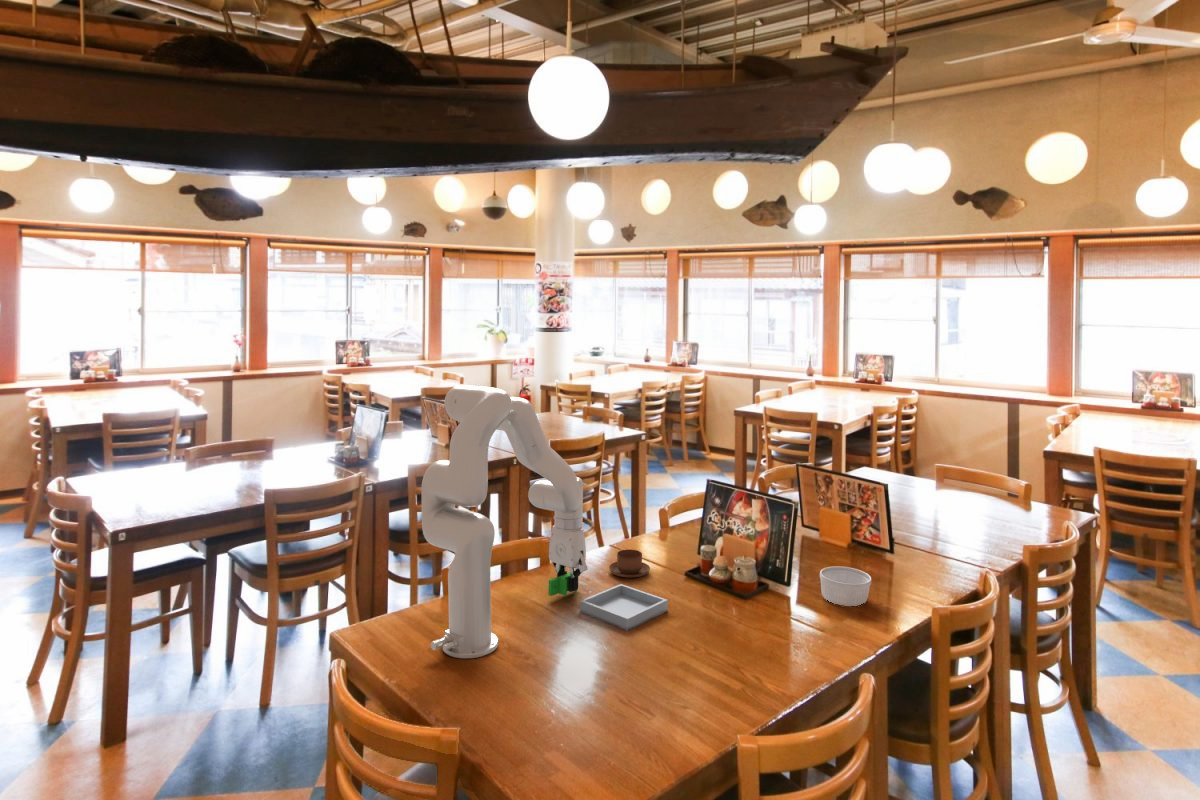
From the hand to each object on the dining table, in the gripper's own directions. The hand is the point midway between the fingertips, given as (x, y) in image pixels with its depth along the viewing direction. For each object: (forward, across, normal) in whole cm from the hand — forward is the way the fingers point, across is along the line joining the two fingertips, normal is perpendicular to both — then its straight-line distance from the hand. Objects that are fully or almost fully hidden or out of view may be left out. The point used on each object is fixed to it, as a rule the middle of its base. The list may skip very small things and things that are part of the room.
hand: (567, 587), depth 195 cm
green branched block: (+1, 0, 0) cm, 1 cm away
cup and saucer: (+2, +1, +25) cm, 25 cm away
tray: (+2, +18, +3) cm, 18 cm away
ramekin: (+2, +56, +50) cm, 75 cm away
